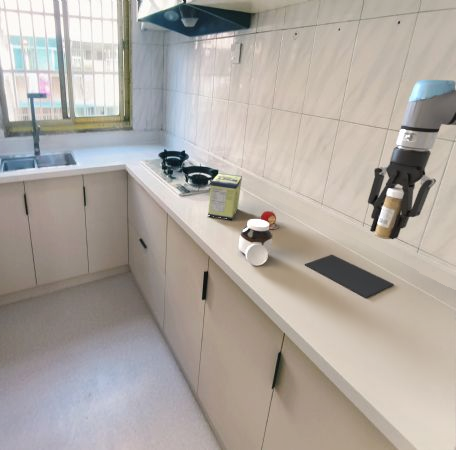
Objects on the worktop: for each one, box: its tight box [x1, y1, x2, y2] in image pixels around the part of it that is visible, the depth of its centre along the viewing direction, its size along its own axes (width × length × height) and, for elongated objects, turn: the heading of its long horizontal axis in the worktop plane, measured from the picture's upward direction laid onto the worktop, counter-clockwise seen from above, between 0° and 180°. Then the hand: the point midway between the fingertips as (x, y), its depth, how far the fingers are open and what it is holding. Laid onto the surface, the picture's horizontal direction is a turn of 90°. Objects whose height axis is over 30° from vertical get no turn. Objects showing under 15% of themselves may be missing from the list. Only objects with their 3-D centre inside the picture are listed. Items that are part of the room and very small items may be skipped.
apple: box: [260, 210, 279, 230], centre depth 135 cm, size 8×8×6 cm
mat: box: [304, 254, 395, 299], centre depth 104 cm, size 20×14×1 cm
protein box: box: [207, 172, 243, 220], centre depth 145 cm, size 10×16×16 cm
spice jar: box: [373, 186, 404, 240], centre depth 90 cm, size 5×5×13 cm
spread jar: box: [238, 218, 273, 267], centre depth 109 cm, size 12×11×12 cm
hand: (383, 233), depth 92 cm, fingers closed on spice jar, 4 cm apart
